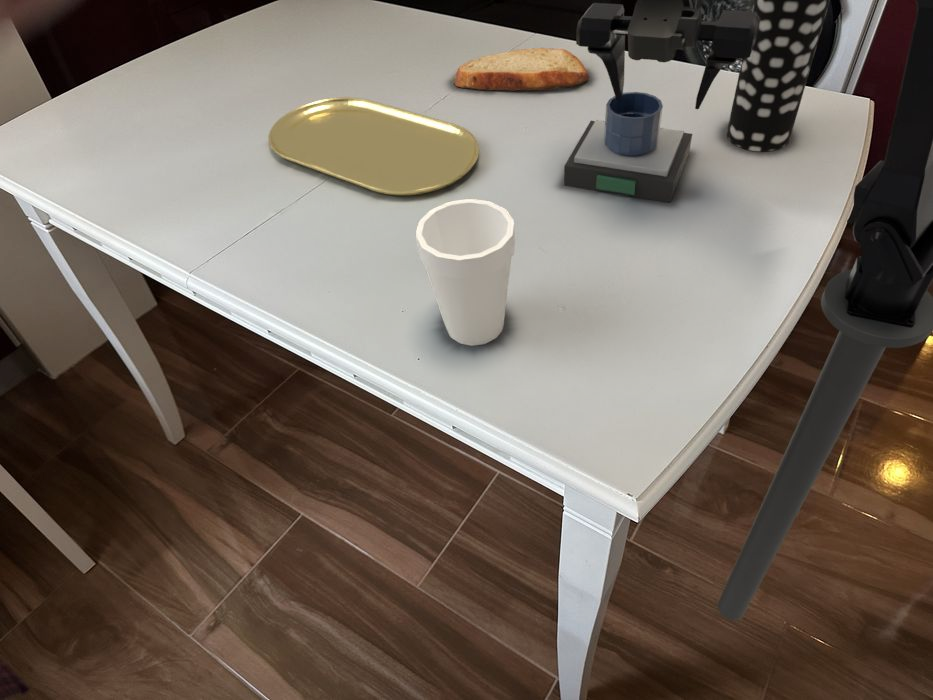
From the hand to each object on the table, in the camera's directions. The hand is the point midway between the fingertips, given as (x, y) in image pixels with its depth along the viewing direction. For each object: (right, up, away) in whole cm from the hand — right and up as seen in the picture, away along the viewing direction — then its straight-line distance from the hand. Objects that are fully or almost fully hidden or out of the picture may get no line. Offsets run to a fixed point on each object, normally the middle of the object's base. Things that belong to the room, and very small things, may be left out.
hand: (657, 103), depth 81 cm
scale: (-1, -5, +11) cm, 12 cm away
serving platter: (-37, 0, +21) cm, 42 cm away
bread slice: (-14, +15, +32) cm, 38 cm away
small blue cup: (-1, -2, +9) cm, 9 cm away
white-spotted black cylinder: (+18, +1, +14) cm, 23 cm away
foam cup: (-22, -27, -6) cm, 35 cm away
